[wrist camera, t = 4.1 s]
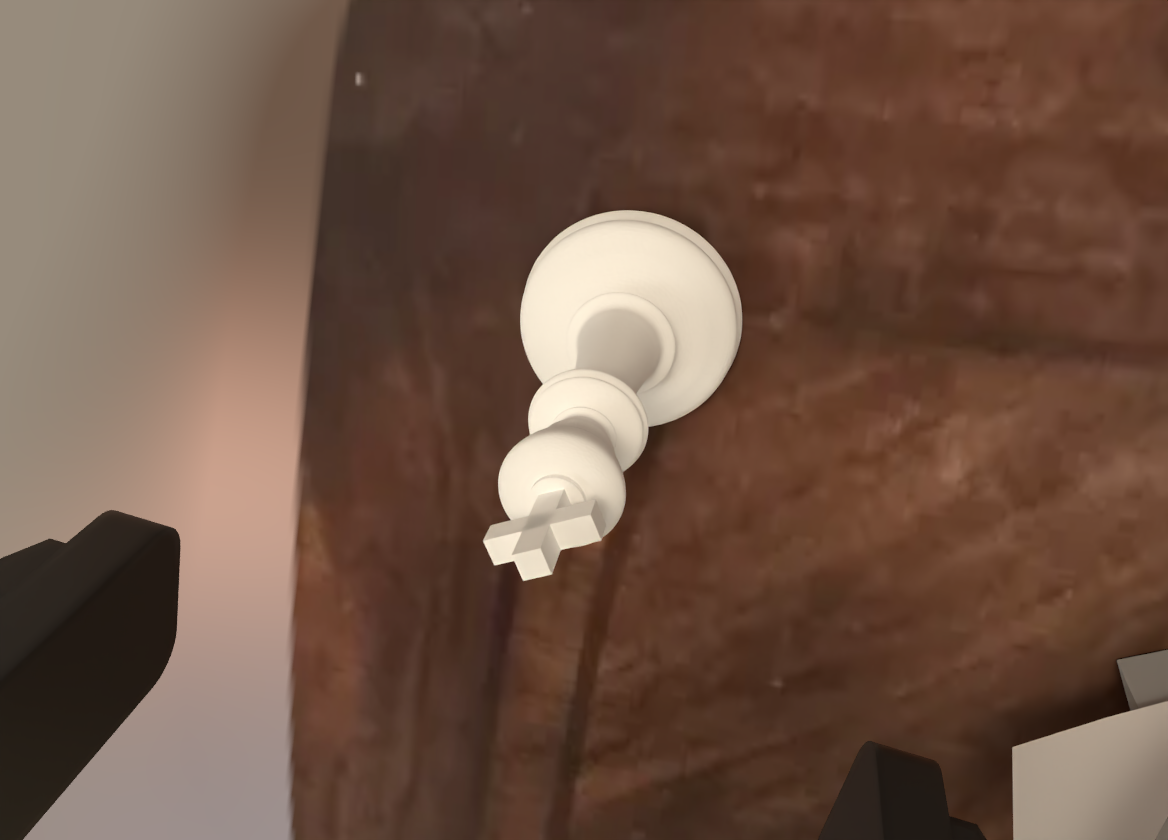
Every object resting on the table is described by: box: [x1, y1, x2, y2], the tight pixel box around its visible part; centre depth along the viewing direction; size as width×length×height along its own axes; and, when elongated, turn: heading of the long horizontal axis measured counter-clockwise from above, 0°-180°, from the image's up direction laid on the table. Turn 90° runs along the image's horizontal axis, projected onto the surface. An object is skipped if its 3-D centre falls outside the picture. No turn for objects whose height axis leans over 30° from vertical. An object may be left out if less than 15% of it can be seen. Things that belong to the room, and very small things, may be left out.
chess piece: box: [483, 210, 742, 581], centre depth 19 cm, size 5×5×10 cm
